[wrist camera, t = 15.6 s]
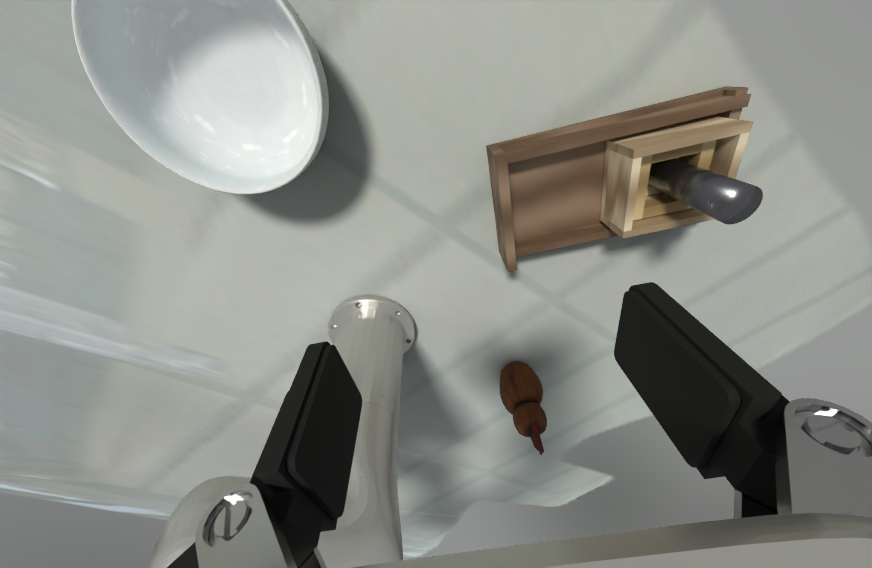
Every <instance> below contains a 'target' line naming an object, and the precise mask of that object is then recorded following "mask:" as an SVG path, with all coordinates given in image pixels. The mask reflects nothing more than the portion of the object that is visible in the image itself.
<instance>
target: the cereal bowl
mask: <svg viewBox="0 0 872 568" xmlns="http://www.w3.org/2000/svg"><path fill="white" fill-rule="evenodd" d="M72 22H73V30H74V35H75V41H76V45H77V48H78V51H79V54H80V57H81V61H82V63H83V66H84V68H85V70H86V73H87V75H88V77H89V79H90V81H91V83H92V85H93V87H94V89H95V91H96V93H97V94H98V96H99V97H100V99H101V101H102V102H103V104H104V106H105V107H106V108H107V110H108V111H109V113H110V114H111V115H112V117H113V118H114V119H115V120H116V122H117V123H118V124H119V125H120V127H121V128H122V129H123V130H124V131H125V132H126V133H127V135H128V136H129V137H130V138H131V139H132V140H133V141H134V142H135V143H136V144H137V145H138V146H140V147H141V148H142V149H143V150H144V151H145V152H146V153H147V154H149V155H150V156H151V157H152V158H154V159H155V160H156V161H158V162H159V163H160V164H162V165H163V166H165V167H166V168H168V169H170V170H171V171H173V172H174V173H176V174H178V175H180V176H181V177H183V178H185V179H187V180H189V181H191V182H194V183H196V184H198V185H201V186H203V187H206V188H209V189H213V190H216V191H220V192H225V193H232V194H258V193H264V192H269V191H272V190H275V189H278V188H280V187H282V186H284V185H286V184H288V183H290V182H291V181H292V180H294V179H295V178H297V177H298V176H299V175H300V174H301V173H303V171H304V170H306V168H307V167H308V166H309V165H310V163H311V162H312V161H313V159H314V158H315V157H316V155H317V153H318V152H319V150H320V147H321V145H322V142H323V140H324V137H325V133H326V129H327V123H328V116H329V100H328V99H329V94H328V88H327V81H326V77H325V74H324V69H323V66H322V63H321V60H320V57H319V54H318V51H317V50H316V47H315V44H314V43H313V40H312V38H311V36H310V35H309V32H308V30H307V29H306V27H305V25H304V23H303V22H302V21H301V19H300V18H299V15H298V14H297V13H296V12H295V10H294V9H293V7H292V6H291V5H290V4H289V2H288V1H287V0H72Z"/></svg>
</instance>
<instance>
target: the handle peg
mask: <svg viewBox="0 0 872 568" xmlns="http://www.w3.org/2000/svg"><path fill="white" fill-rule="evenodd" d="M648 186H650V187H652V188H654V189H656V190H658V191H660V192H662V193H664V194H666V195H668V196H670V197H672V198H674V199H676V200H678V201H680V202H682V203H684V204H686V205H688V206H690V207H692V208H694V209H696V210H698V211H700V212H702V213H704V214H706V215H708V216H710V217H712V218H714V219H716V220H718V221H720V222H722V223H725V224H735V223H738V222H741V221H743V220H745V219H746V218H748V217H749V216H750V215H752V214H753V213H754V212H755V211H756V209H757V208H758V207H759V205H760V203H761V201H762V197H763V193H762V190H761V189H760V188H759V187H757V186H754V185H751V184H748V183H745V182H742V181H739V180H736V179H733V178H730V177H727V176H724V175H721V174H718V173H715V172H712V171H709V170H706V169H703V168H700V167H697V166H695V165H692V164H689V163H686V162H683V161H680V160H677V159H669V160H665V161H661V162H656V163H653V164H652V165H651V167H650V174H649V180H648Z"/></svg>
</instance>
